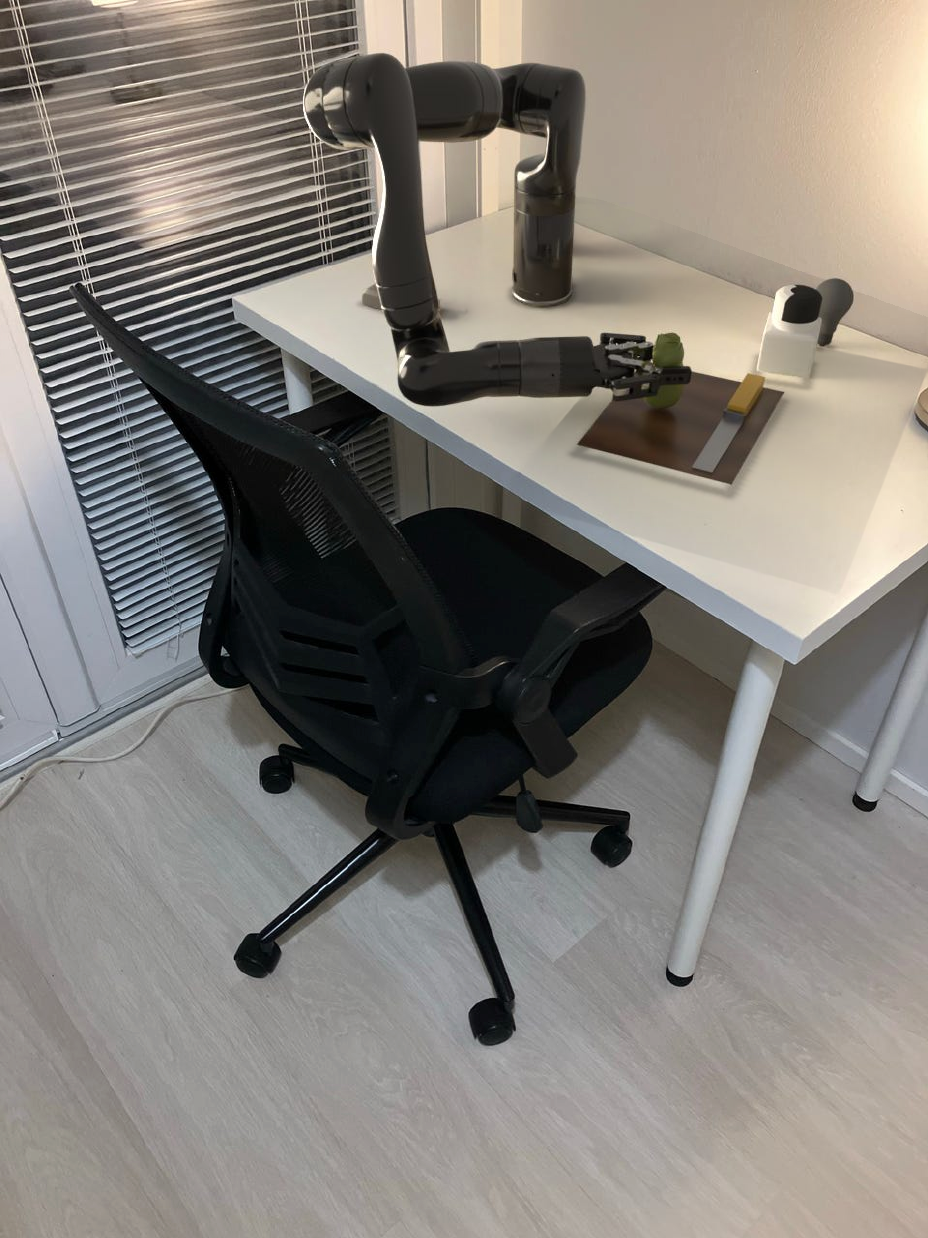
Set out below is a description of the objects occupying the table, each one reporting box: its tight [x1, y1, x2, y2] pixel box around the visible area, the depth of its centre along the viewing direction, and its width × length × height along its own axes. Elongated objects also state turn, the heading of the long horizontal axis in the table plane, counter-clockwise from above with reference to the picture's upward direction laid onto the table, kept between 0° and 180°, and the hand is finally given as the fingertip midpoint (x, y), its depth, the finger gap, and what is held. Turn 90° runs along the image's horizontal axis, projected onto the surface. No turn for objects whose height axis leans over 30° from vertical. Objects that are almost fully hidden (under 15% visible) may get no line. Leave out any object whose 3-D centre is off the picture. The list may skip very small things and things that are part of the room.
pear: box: [642, 332, 685, 409], centre depth 135 cm, size 6×5×10 cm
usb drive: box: [361, 282, 441, 311], centre depth 165 cm, size 5×12×3 cm, turn 58°
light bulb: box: [815, 277, 855, 347], centre depth 150 cm, size 6×6×10 cm
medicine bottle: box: [756, 284, 822, 379], centre depth 144 cm, size 7×7×12 cm
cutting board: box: [576, 361, 785, 485], centre depth 137 cm, size 24×20×2 cm
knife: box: [692, 372, 766, 474], centre depth 134 cm, size 22×3×2 cm, turn 152°
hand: (685, 363), depth 134 cm, fingers closed on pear, 5 cm apart
